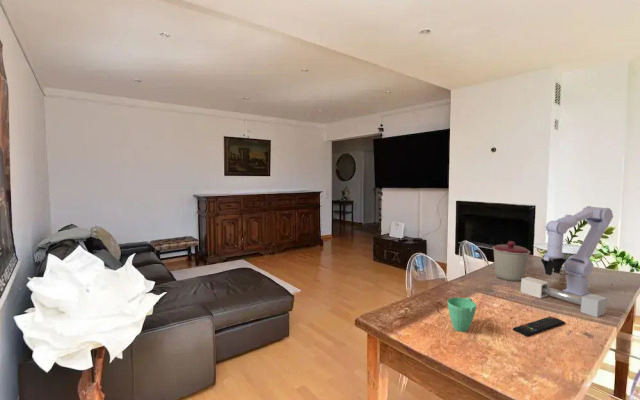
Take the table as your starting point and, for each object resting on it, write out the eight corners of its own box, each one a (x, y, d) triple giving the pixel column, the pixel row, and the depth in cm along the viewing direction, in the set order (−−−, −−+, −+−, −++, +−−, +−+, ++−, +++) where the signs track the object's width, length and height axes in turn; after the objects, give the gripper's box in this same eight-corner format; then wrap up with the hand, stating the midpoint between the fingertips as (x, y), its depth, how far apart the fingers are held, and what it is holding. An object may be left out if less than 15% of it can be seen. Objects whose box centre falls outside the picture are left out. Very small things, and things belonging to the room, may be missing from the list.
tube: (538, 290, 152) (539, 283, 152) (595, 307, 133) (596, 299, 133) (534, 292, 151) (535, 284, 150) (591, 309, 131) (592, 301, 131)
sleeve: (527, 289, 158) (528, 276, 158) (547, 295, 150) (548, 282, 150) (520, 291, 155) (521, 278, 155) (540, 298, 147) (541, 284, 147)
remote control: (512, 331, 117) (513, 327, 117) (550, 319, 127) (551, 316, 127) (527, 338, 112) (527, 334, 112) (565, 325, 122) (565, 321, 122)
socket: (589, 308, 137) (590, 293, 136) (605, 313, 132) (606, 297, 131) (580, 311, 133) (581, 296, 132) (596, 317, 128) (598, 301, 128)
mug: (470, 338, 110) (472, 310, 110) (442, 329, 117) (443, 303, 116) (481, 323, 121) (483, 298, 121) (455, 316, 128) (456, 292, 127)
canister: (528, 276, 179) (530, 240, 177) (528, 286, 164) (531, 246, 162) (492, 271, 188) (493, 236, 187) (489, 279, 173) (491, 242, 172)
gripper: (553, 243, 157) (551, 269, 158) (537, 245, 150) (535, 273, 151) (569, 245, 151) (567, 273, 152) (554, 248, 144) (551, 277, 145)
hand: (552, 273), depth 151 cm, fingers open, 7 cm apart
